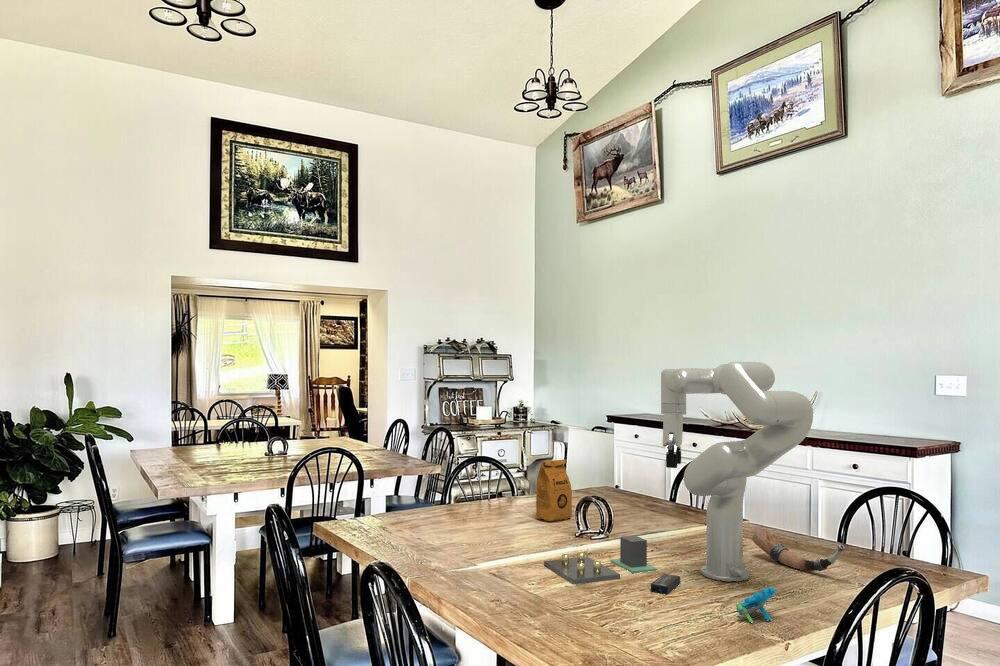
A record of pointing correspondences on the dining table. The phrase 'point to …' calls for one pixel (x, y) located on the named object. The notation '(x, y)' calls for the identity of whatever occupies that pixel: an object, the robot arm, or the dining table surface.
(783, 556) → the drinking horn
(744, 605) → the blue toy dinosaur
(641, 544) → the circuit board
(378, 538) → the dining table surface
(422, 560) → the dining table surface
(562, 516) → the coffee package
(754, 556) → the dining table surface
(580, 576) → the plate
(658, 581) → the multiport hub
